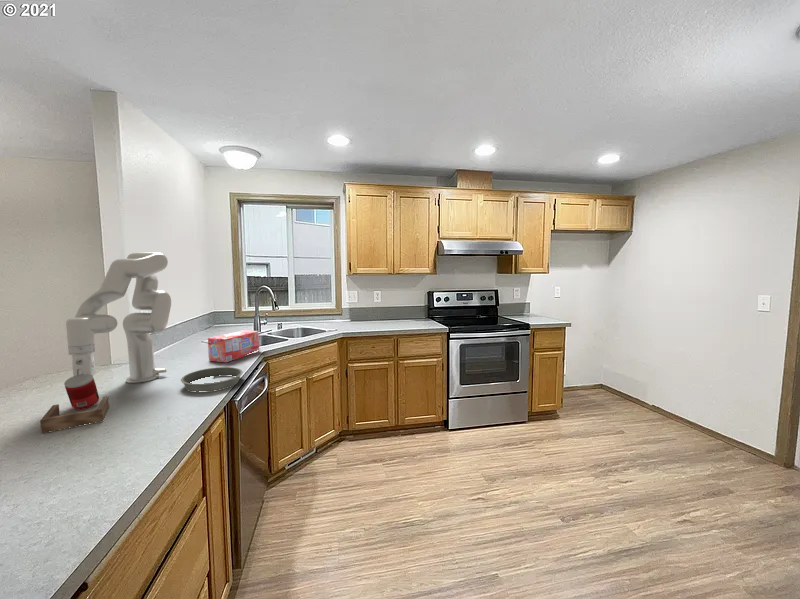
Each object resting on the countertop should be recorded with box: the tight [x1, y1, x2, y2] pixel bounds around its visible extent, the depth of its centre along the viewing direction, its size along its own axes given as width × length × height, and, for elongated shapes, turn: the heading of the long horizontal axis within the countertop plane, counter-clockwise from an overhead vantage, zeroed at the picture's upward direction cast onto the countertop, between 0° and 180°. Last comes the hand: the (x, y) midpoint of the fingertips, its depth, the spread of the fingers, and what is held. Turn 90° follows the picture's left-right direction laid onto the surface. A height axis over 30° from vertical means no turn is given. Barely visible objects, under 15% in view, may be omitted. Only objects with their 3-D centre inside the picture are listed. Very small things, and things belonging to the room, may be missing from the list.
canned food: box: [64, 374, 100, 410], centre depth 127 cm, size 8×8×11 cm
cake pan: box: [180, 366, 244, 393], centre depth 154 cm, size 25×25×4 cm
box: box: [207, 329, 260, 363], centre depth 199 cm, size 27×13×14 cm, turn 162°
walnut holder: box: [39, 395, 110, 434], centre depth 118 cm, size 15×14×4 cm
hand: (85, 395), depth 133 cm, fingers closed
